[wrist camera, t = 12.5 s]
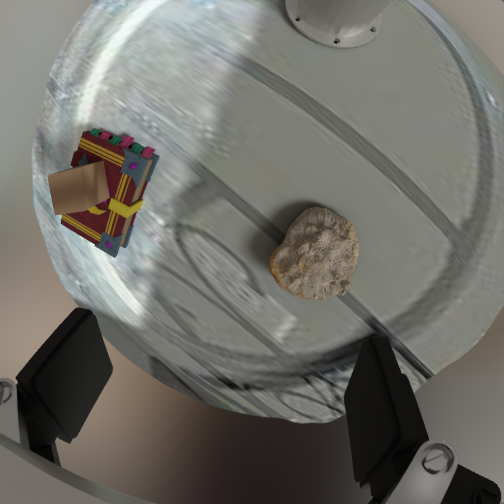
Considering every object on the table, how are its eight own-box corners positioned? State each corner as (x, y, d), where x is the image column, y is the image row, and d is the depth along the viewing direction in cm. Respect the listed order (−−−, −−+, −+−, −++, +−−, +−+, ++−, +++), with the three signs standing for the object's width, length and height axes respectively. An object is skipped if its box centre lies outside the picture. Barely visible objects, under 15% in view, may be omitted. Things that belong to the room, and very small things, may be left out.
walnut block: (75, 166, 33) (47, 175, 28) (103, 160, 33) (76, 168, 27) (81, 201, 35) (55, 215, 30) (109, 197, 35) (83, 211, 29)
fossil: (304, 191, 37) (370, 226, 30) (327, 215, 43) (382, 247, 37) (253, 269, 38) (310, 316, 32) (283, 281, 44) (333, 320, 38)
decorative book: (74, 215, 42) (56, 225, 37) (101, 121, 35) (81, 122, 31) (128, 246, 43) (113, 259, 38) (164, 148, 36) (149, 152, 32)
